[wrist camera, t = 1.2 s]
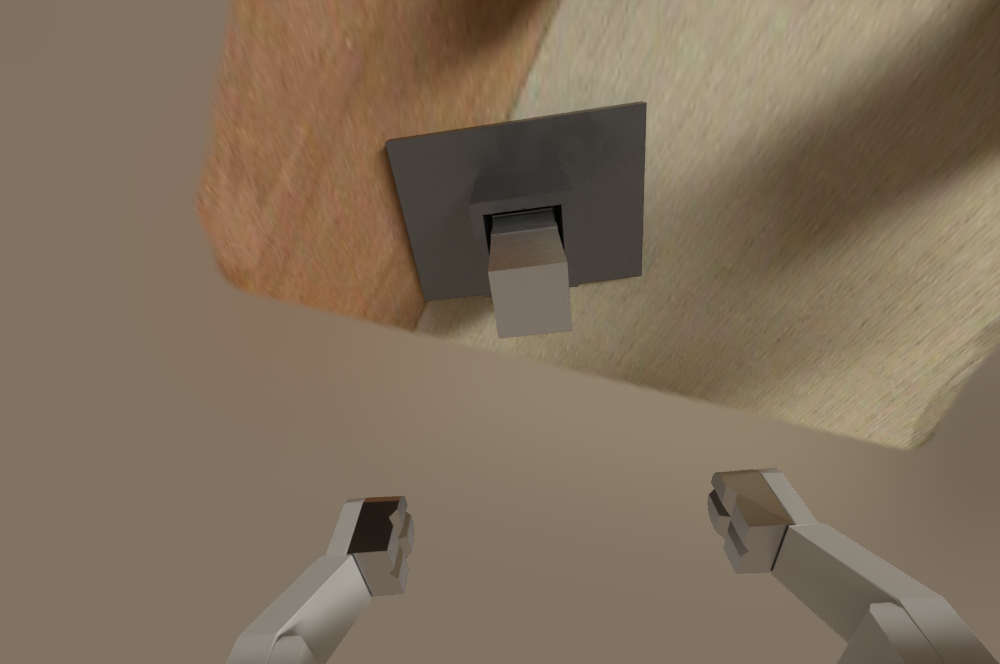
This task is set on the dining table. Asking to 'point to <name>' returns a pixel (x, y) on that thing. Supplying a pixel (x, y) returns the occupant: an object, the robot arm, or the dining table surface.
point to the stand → (524, 193)
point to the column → (528, 274)
